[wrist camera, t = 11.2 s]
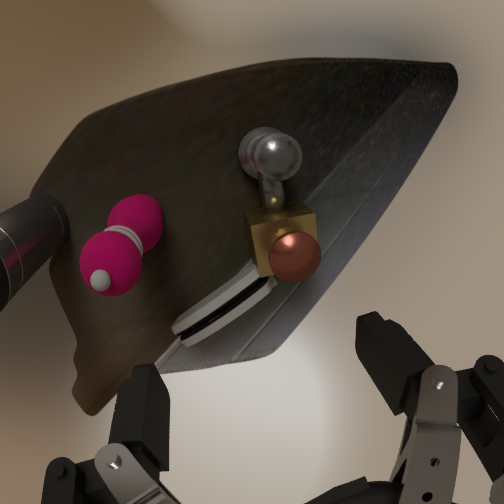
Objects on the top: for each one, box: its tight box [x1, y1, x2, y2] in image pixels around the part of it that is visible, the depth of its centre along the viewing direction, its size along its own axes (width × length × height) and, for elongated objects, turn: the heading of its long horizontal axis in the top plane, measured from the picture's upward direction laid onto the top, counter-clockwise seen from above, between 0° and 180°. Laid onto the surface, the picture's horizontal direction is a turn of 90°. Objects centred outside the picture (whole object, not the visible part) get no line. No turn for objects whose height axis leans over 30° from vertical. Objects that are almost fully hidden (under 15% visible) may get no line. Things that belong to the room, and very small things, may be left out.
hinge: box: [171, 263, 278, 347], centre depth 43 cm, size 17×5×10 cm, turn 125°
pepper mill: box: [80, 194, 163, 296], centre depth 30 cm, size 7×7×20 cm
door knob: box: [245, 133, 302, 181], centre depth 34 cm, size 5×5×7 cm
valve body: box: [237, 127, 321, 282], centre depth 36 cm, size 8×18×11 cm, turn 10°
